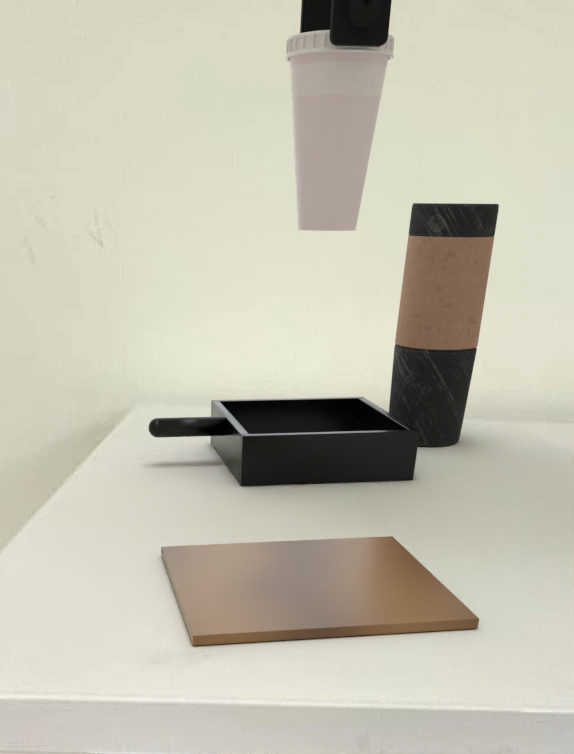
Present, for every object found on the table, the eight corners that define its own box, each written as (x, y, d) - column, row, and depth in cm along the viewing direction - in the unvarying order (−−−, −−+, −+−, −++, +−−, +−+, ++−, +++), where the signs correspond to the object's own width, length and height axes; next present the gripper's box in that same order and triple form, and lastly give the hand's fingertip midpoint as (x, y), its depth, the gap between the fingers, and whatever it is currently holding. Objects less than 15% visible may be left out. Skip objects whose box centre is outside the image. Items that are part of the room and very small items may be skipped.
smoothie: (347, 228, 59) (369, -44, 52) (396, 231, 54) (428, -70, 47) (261, 228, 57) (271, -53, 50) (303, 231, 52) (321, -82, 45)
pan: (358, 439, 86) (363, 396, 84) (413, 479, 74) (420, 431, 72) (140, 445, 83) (139, 401, 81) (159, 488, 71) (158, 438, 69)
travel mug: (465, 449, 83) (506, 203, 72) (384, 445, 84) (413, 203, 73) (458, 431, 89) (494, 203, 79) (383, 428, 90) (409, 203, 80)
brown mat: (391, 544, 60) (392, 536, 59) (477, 628, 48) (479, 618, 48) (161, 555, 57) (161, 546, 57) (192, 646, 46) (192, 635, 45)
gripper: (531, -541, 35) (457, 32, 44) (391, -322, 49) (358, 74, 59) (349, -561, 34) (314, 28, 43) (262, -332, 48) (250, 71, 58)
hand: (340, 51), depth 51 cm, fingers closed on smoothie, 6 cm apart
